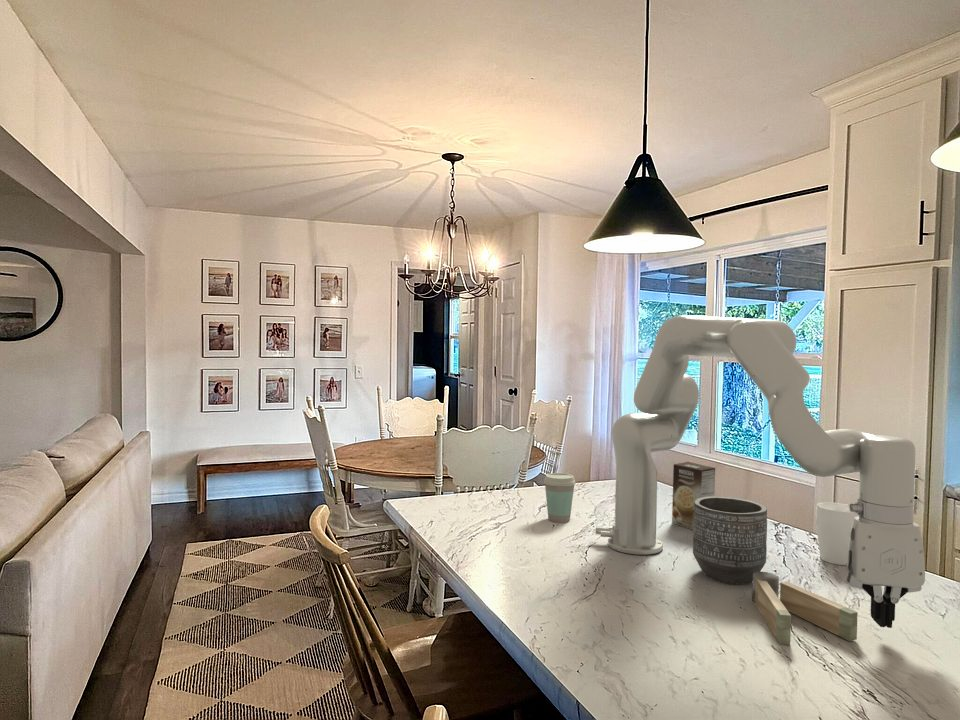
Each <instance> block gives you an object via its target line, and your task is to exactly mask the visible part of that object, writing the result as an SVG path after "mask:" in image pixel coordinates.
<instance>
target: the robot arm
mask: <svg viewBox="0 0 960 720" xmlns="http://www.w3.org/2000/svg"><path fill="white" fill-rule="evenodd" d="M656 333H657V334H656V336H655V340H654V343H653V347H652V350H651V353H650V355H649V357H648V360H647V361H646V364H645V366H644V368H643V371H642V373H641V376H640V378H639V380H638V383H637V384H636V388H635V390H634V393H633V403H634V406H635V407H636V409H637V410H638V411H639V412H632V413H626V414H624V415H622V416H620V417H618V419H616V420H615V422H614V423H613V425H612V429H611V439H612V444H613V451H614V458H615V459H614V460H615V492H614V493H615V496H614V497H615V499H614V501H615V502H614V503H615V504H614V505H615V506H614V507H615V508H614V522H613V523H612V524H613V525H608V526H607V527H606V526H605V527H604V526H597V525H595V535H597V536H598V535H599V536H600V537H602V538H608V539H607V545H608V546H609V547H610V548H611V549H612V550H614V551H617V552H620V553H625V554H630V555H641V556H643V555H654V554H658V553H660V552H661V551H663V549H664V548H663V547H664V544H663V542H662V541H661V540H660V539H658V538H657V509H658V507H657V506H658V505H657V502H658V471H657V470H658V469H657V467H656V464H655V461H654V460H653V457H652V455H651V453H654V452H655V453H657V452H662V451H663V452H664V451H668V450H669V451H670V450H672V449H673V448H675V447H676V446H677V445H678V444H679V443H680V442H681V439H682V438H683V436H684V435H685V432H686V429H687V427H688V426H689V424H690V422H691V419H692V417H693V416H694V414H695V411H696V408H697V406H698V404H699V400H700V399H699V397H700V391H699V387H698V383H697V382H696V380H695V379H694V378H693V377H692V376H691V375H689V374H687V371H688V367H689V360H690V358H689V356H694V357H695V356H697V357H730V358H735V359H736V361H737V362H738V363H739V365H740V367H741V368H742V369H743V370H744V371H745V372H746V374H747V375H748V376H749V378H750V379H751V381H752V382H753V383H754V384H755V385H756V387H757V388H758V389H759V391H760V392H761V393H762V395H763V396H764V397H765V398H766V400H767V404H768V405H767V406H768V407H767V408H768V414H769V418H770V423H771V426H772V428H773V431H774V434H775V436H776V437H777V439H778V440H779V442H780V443H781V444H782V446H783V448H784V449H785V451H787V452H788V454H789V456H790V457H791V458H792V459H793V460H794V462H795V463H796V464H797V465H798V466H799V467H801V468H802V469H803V470H804V471H805V472H807V473H809V474H811V475H813V476H815V477H820V478H826V477H832V476H837V475H838V476H839V475H842V474H843V475H845V474H851V473H859V490H858V491H859V492H858V498H857V502H854V503H850V504H849V505H850V511H851V512H856V513H857V514H858V515H859V516H856V517H855V518H854V521H853V524H852V528H851V532H850V537H849V544H848V553H847V565H846V569H847V571H848V574H847V577H846V581H845V582H846V583H847V584H848V585H849V586H850V587H853V588H855V589H859V590H863V591H864V592H866V593H867V594H868V596H869V597H870V617H871V618H872V619H873V621H874V622H875V623H876V624H877V625H878V626H879V627H880V628H885V627H886V628H888V629H889V628H890V629H892V628H893V622H894V621H895V619H896V605H897V604H898V603H899V602H900V599H901V598H903V597H904V596H906V594H908V593H916V592H921V590H922V587H923V586H924V585H925V581H926V563H925V561H926V560H925V551H924V542H923V535H922V532H921V527H920V524H918V523H916V522H914V519H915V516H914V514H915V513H914V512H915V511H914V510H915V508H914V507H915V485H916V484H915V482H916V481H915V479H916V478H915V477H916V446H915V444H914V442H913V441H911V440H910V439H908V438H905V437H900V436H891V435H879V434H878V435H876V434H871V433H868V432H865V431H860V430H857V429H853V428H852V429H850V428H841V429H840V428H839V429H829V430H824V429H823V427H822V426H821V425H820V424H819V423H818V421H817V420H816V419H815V418H814V416H813V415H812V414H811V412H810V411H809V409H808V407H807V405H806V403H805V401H804V390H805V389H806V388H807V386H808V384H809V383H810V380H811V379H810V378H811V377H810V374H809V372H808V371H807V370H806V368H805V367H804V366H803V365H802V363H800V361H799V360H798V359H797V358H796V357H795V356H794V352H795V350H796V347H797V337H796V335H795V332H794V331H793V329H792V328H791V326H789V325H788V324H787V323H786V322H783V321H780V320H777V319H776V320H775V319H765V318H764V319H763V318H762V319H761V318H741V317H740V318H738V317H727V316H726V317H724V316H721V317H720V316H711V315H709V316H708V315H676V316H673V317H669V318H668V319H667V320H666V321H664V322H663V323H662V324H661V326H660V327H659V329H658V331H657V332H656ZM882 587H884V589H883V590H882Z"/></svg>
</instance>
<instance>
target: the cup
mask: <svg viewBox="0 0 960 720" xmlns="http://www.w3.org/2000/svg"><path fill="white" fill-rule="evenodd" d="M856 516H859V515H858V514H857V513H856V512H851V511H850V504H849V503H848V504H846V503H841V502H834V501H833V502H830V501H821V502H818V503H816V509H815V516H814V517H815V525H816V526H815V527H816V535H817V542H818V549H819V551H818V552H819V557H820V559H821V560H822V561H824V562H827V563H830V564H833V565H837V566H838V565H839V566H847V553H848V544H849V537H850V532H851V528H852V524H853V521H854V518H855V517H856Z"/></svg>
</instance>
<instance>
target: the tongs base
mask: <svg viewBox="0 0 960 720" xmlns="http://www.w3.org/2000/svg"><path fill="white" fill-rule="evenodd" d="M779 582H780V577H779V575H777V574H774V573H772V572H768V571H760V572H755V573H753V581H752V600H751V601H752V603H754V604H755V605H756V608H757V610H758V611H759V612H760V614H761V616H762V617H763V619H764V621H765V622H766V624H767V626H768V627H769V629H770V631H771V632H772V634H773V636H774V638H775V640H776V641H777V642H778V644H779V645H784V646H785V645H786V646H791V636H792V635H791V633H792V631H791V630H792V629H791V628H792V626H791V625H792V615H791V612H789V611H787V609H786V608H785V606H784V605H783V604H782V602H781V601H780V597H779V594H780V587H779V584H780V583H779Z"/></svg>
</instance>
